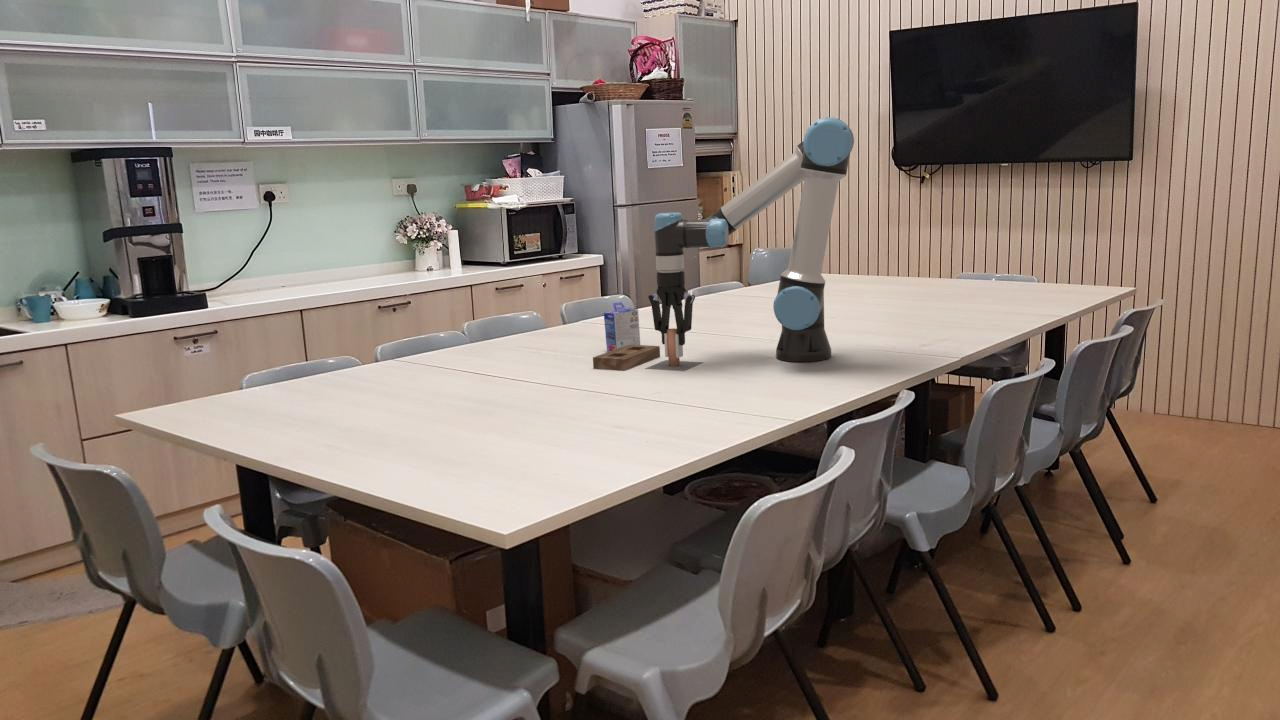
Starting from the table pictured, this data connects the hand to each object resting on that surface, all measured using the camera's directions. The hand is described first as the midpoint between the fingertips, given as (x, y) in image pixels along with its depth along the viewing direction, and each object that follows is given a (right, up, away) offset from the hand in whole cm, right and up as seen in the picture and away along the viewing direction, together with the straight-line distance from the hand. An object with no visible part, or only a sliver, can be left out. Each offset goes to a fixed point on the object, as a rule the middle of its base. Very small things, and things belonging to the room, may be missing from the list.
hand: (674, 356), depth 272 cm
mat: (0, -3, +1) cm, 3 cm away
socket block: (-13, -2, +8) cm, 15 cm away
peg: (0, -2, 0) cm, 3 cm away
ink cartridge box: (-14, +2, +29) cm, 33 cm away
